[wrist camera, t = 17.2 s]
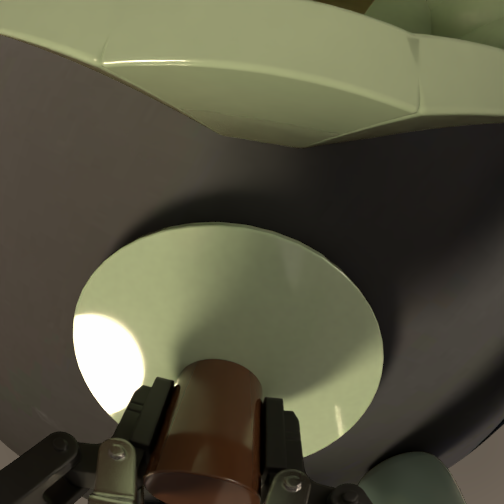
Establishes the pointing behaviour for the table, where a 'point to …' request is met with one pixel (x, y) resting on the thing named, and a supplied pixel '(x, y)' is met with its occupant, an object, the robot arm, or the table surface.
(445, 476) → the cup
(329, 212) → the table surface
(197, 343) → the tin lid
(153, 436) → the robot arm
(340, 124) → the tin
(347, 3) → the letter block
